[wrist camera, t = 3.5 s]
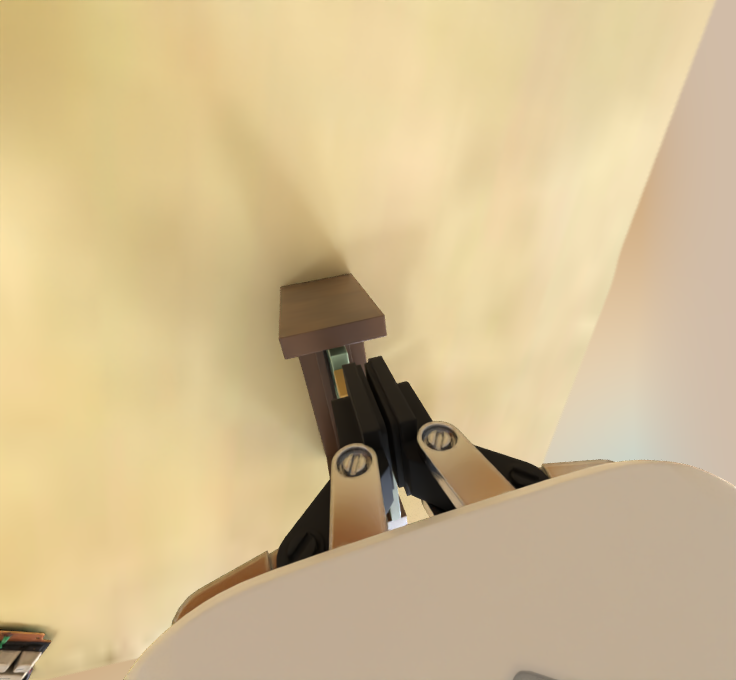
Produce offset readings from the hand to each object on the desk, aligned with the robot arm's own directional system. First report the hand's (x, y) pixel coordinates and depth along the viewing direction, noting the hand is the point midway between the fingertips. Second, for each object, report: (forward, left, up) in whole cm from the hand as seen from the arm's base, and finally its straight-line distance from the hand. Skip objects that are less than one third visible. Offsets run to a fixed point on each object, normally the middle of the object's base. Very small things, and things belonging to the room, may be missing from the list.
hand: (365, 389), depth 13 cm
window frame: (0, -12, -19) cm, 23 cm away
